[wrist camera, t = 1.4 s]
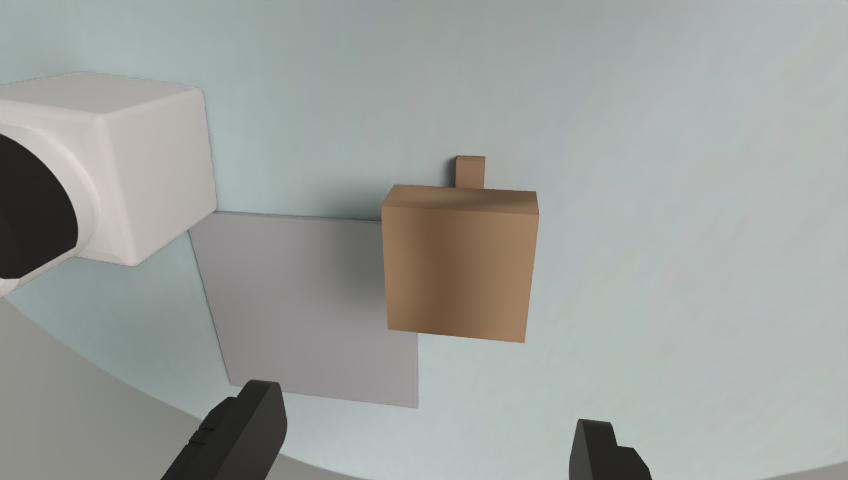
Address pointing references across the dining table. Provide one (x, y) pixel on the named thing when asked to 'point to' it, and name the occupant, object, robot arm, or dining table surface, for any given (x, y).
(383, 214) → the wooden pedestal stool
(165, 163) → the blocky figurine
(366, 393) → the mat
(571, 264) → the dining table surface
